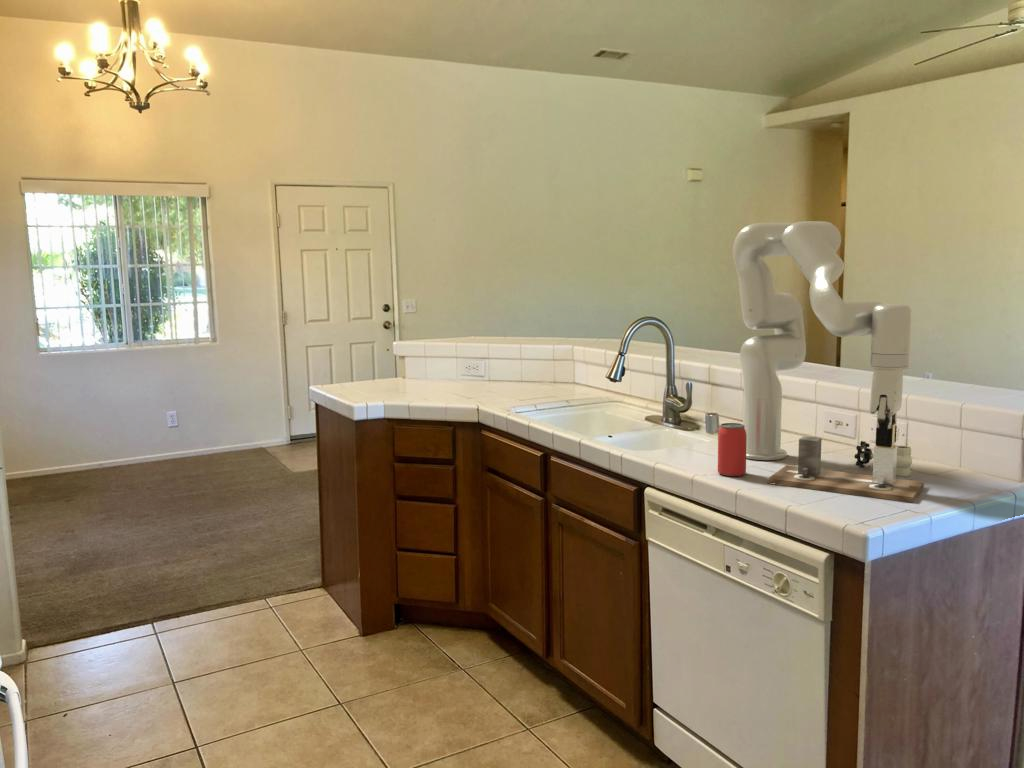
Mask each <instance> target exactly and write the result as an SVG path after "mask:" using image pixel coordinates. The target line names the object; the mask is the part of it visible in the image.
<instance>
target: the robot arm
mask: <svg viewBox="0 0 1024 768" xmlns="http://www.w3.org/2000/svg"><path fill="white" fill-rule="evenodd" d="M841 243H842V235H841V232H840V231H839V229H838V227H836V225H835V224H833V223H831V222H828V221H824V220H823V221H822V220H821V221H814V220H813V221H812V220H811V221H809V220H808V221H807V220H806V221H804V220H803V221H796V222H756V223H751V224H749V225H746V226H744V227H743V228H742V229H741V230H740V231H738V233H737V235H736V237H735V239H734V241H733V248H732V256H733V262H734V266H735V269H736V274H737V277H738V278H737V279H738V284H739V285H738V287H739V288H738V289H739V296H740V297H739V298H740V306H741V314H742V321H743V324H744V325H745V327H747V328H748V329H750V330H753V331H766V330H773V331H774V332H773V334H761V335H754V336H752V337H749V338H748V339H746V340H745V341H744V342H743V343H742V345H741V349H740V352H739V357H740V359H739V360H740V364H741V368H742V369H741V370H742V376H743V409H742V410H743V412H742V413H743V414H742V421H743V422H742V424H743V425H744V426H745V427H744V428H745V431H746V434H747V442H746V460H747V459H748V460H754V461H778V460H782V459H785V458H786V457H787V456H788V455H787V450H785V449H783V448H781V444H782V442H781V440H782V439H781V438H782V436H781V435H782V408H783V407H782V404H783V400H782V399H783V391H782V390H783V389H782V384H781V381H780V379H779V377H778V375H777V373H776V372H778V371H786V370H794V369H797V368H799V367H801V365H802V364H803V362H805V359H806V355H807V346H806V345H807V344H806V343H807V342H806V333H805V325H804V314H803V309H802V305H801V303H800V302H799V300H798V299H797V297H796V296H795V295H793V294H791V293H788V292H776V291H775V286H774V278H773V273H772V270H771V269H770V267H769V265H768V264H767V263H766V261H765V260H764V258H765V257H766V258H767V257H768V258H769V257H772V258H774V257H775V258H776V257H779V258H780V257H786V258H787V257H790V258H791V259H792V261H793V262H794V264H795V265H796V266H797V268H799V270H800V271H801V273H802V274H803V276H804V277H805V278H806V280H807V282H809V284H810V287H809V300H810V302H809V303H810V307H811V309H812V311H813V313H814V314H815V316H816V317H817V319H818V320H819V322H820V323H821V324H822V325H823V327H824V328H825V329H826V330H827V331H829V333H831V334H832V335H834V336H836V337H840V338H850V337H851V338H852V337H858V336H859V337H864V336H870V337H871V338H870V339H871V340H870V360H869V361H870V363H869V368H871V369H873V374H872V379H871V390H870V402H869V413H870V414H871V415H874V414H876V413H877V417H876V427H875V445H876V446H881V447H891V446H892V435H893V429H891V425H892V423H895V443H896V442H897V430H898V429H897V427H898V426H897V412H899V411H900V410H901V407H902V401H903V400H902V399H903V383H904V381H903V380H904V370H908V369H909V368H910V367H909V366H910V365H909V363H910V348H911V347H910V346H911V345H910V344H911V323H912V309H911V307H910V305H908V304H905V303H883V302H882V303H880V302H878V301H877V302H876V301H853V302H845V301H844V300H843V298H842V297H841V296H840V295H839V294H838V293H837V291H836V289H835V288H834V286H833V283H834V282H836V281H837V280H838V279H840V277H841V275H843V272H844V270H845V263H844V261H843V259H842V258H841V257H840V255H839V254H837V252H838V250H839V249H840V246H841Z"/></svg>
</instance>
